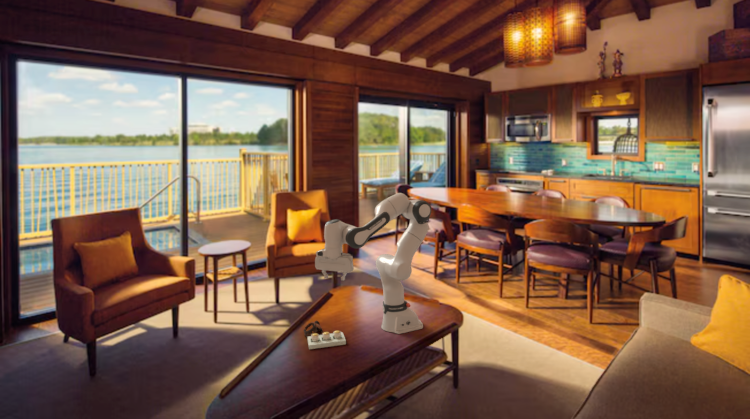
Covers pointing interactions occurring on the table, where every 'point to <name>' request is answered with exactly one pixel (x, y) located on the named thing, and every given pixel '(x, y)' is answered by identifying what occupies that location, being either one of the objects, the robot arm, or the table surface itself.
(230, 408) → the table surface
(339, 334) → the button
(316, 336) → the button
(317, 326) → the pottery mug
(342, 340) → the button board
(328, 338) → the button
